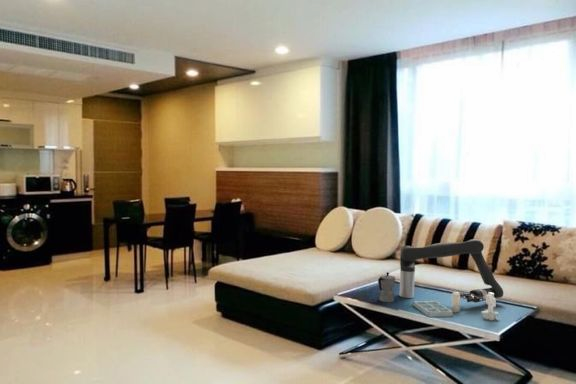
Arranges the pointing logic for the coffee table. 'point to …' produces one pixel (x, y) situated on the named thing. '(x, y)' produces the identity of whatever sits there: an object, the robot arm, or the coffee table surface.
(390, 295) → the coffeepot
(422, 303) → the muffin tray
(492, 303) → the figurine
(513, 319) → the coffee table surface
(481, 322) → the coffee table surface
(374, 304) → the coffee table surface
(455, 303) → the white tall cylinder
